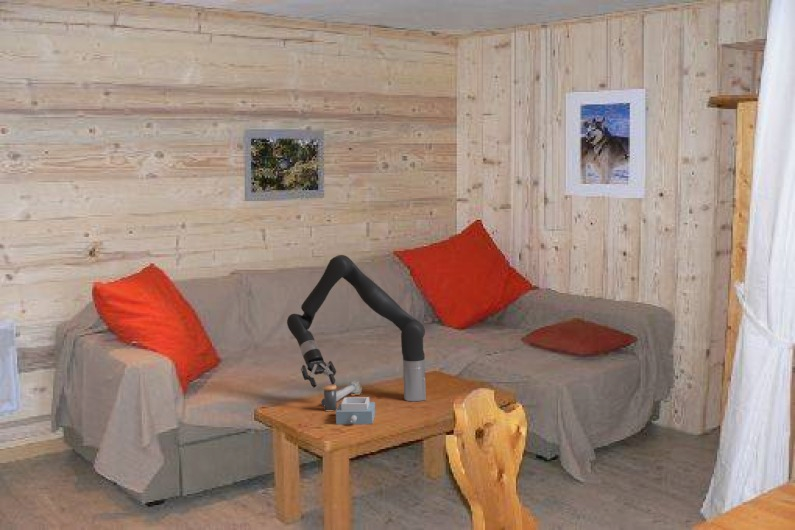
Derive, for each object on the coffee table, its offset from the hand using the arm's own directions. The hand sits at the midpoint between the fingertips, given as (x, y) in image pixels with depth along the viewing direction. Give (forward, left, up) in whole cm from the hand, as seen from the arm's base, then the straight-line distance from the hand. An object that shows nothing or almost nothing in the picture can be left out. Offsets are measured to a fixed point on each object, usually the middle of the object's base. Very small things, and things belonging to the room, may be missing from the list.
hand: (324, 385), depth 370 cm
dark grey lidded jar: (-3, +4, -10) cm, 11 cm away
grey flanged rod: (-6, -12, -10) cm, 16 cm away
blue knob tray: (-15, +20, -9) cm, 26 cm away
